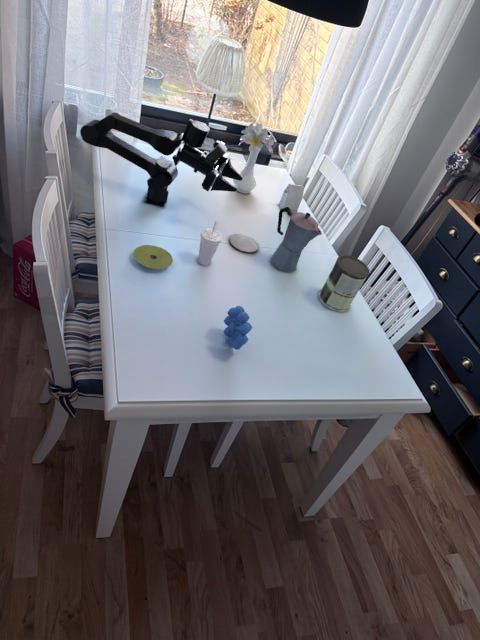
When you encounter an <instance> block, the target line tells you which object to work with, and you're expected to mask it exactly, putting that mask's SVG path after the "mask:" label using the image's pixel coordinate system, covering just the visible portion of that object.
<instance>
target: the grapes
mask: <svg viewBox="0 0 480 640" xmlns="http://www.w3.org/2000/svg"><path fill="white" fill-rule="evenodd" d="M226 313H227V316H226V317H225V318H224V319H223V323H224V324H225V325H226V327H225V328H224V330H223V331H222V333H223V334H224V335H225V337H226V340H225V342H226V344H227V345H228V346H229V347H232V348H233V349H234V350H240V349H241V348H242V347H243V346H244V345H246V344H247V342H248V341H249V338H248V336H247V335H248V334H249V333H250V332H251V331H252V330H253V325H252V323H250V322H248V321H249V320H250V315H249V314H248V313H247V312H246V311H245V309H244V307H243V306H241V305H237V306H235V307H234V306H233V307H230V308H229V309H228V310H227V312H226Z"/></svg>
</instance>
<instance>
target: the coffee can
mask: <svg viewBox="0 0 480 640" xmlns="http://www.w3.org/2000/svg"><path fill="white" fill-rule="evenodd" d="M369 275H370V268H369V267H368V265H367V264H366V263H365V262H363V261H362V260H360V259H359V258H357V257H355V256H353V255H347V254H342V255H339V256H338V257H337V258H336V261H335V263H334V265H333V267H332V269H331V271H330V272H329V274H328V276H327V278H326V281H325V282H324V284H323V286H322V288H321V289H320V291H319V293H318V299H319V301H320V303H321V304H322V305H324V307H326V308H328V309H329V310H331V311H334V312H339V313H344V312H347V311H348V310H349V309H350V306H351V304H353V301H354V300H355V298H356V296H357V295H358V293H359V291H360V289H361V287H362V286H363V285H364V283H365V281H366V279H367V278H368V276H369Z"/></svg>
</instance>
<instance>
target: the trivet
mask: <svg viewBox="0 0 480 640" xmlns="http://www.w3.org/2000/svg"><path fill="white" fill-rule="evenodd" d="M228 241H229V245H230V246H231V247H232V248H233V249H234V250H236V251H238V252H241V253H243V254H254V253H256V252H258V250H259V243H258V242H257V241H256V240H255V239H254V238H253V237H250V236H248V235H246V234H242V233H235V234H232V235H231V236H230V237H229V239H228Z"/></svg>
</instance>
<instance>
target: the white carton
mask: <svg viewBox="0 0 480 640" xmlns="http://www.w3.org/2000/svg"><path fill="white" fill-rule="evenodd" d="M305 187H306V186H305V185H300V184H294V183H288V185H286V188H285V189H284V190H283V192H282V195H281V197H280V200H279V203H278V206H279V208H280V209H283V208H285V207H289V208H290V209H291V210H293V211H295V212H298V210H299V208H300V205H301V203H302V200H303V198H304V192H305Z"/></svg>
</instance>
